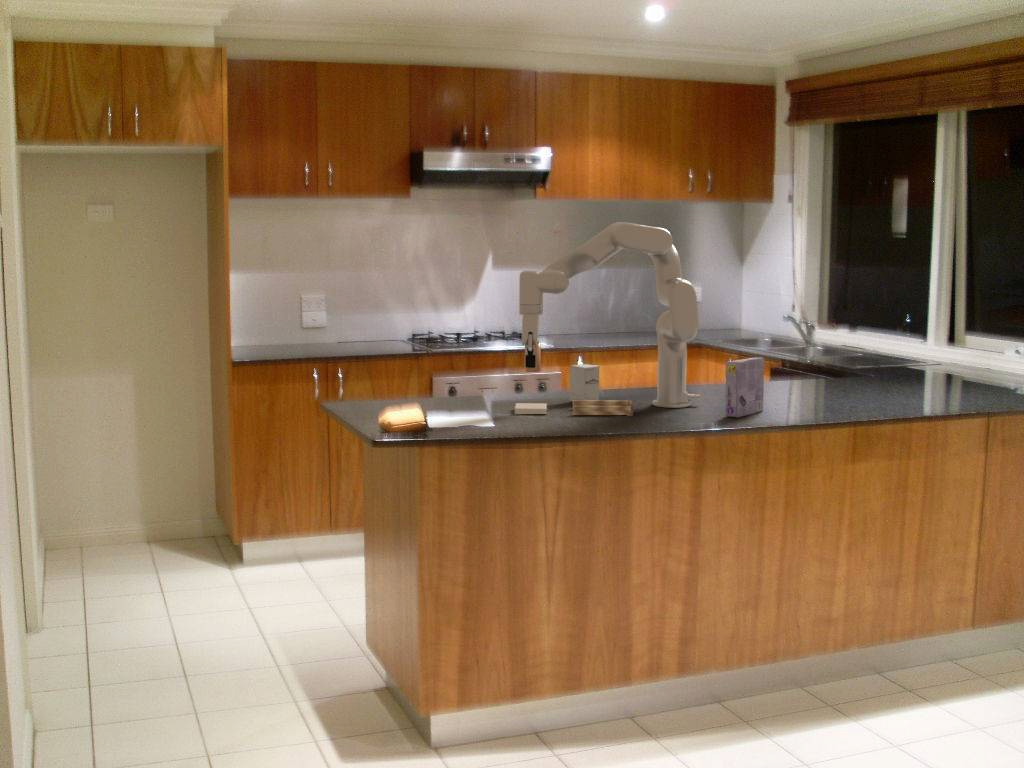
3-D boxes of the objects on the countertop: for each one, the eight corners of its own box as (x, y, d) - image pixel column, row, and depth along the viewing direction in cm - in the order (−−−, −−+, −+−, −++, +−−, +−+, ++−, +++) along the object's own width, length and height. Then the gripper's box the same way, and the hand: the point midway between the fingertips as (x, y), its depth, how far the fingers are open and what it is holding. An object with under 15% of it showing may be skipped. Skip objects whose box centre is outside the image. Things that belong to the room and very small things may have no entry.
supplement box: (583, 404, 368) (584, 367, 366) (568, 402, 373) (569, 365, 371) (599, 402, 372) (600, 365, 370) (584, 399, 378) (584, 363, 376)
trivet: (546, 409, 358) (546, 403, 358) (546, 414, 349) (546, 408, 348) (516, 409, 359) (516, 403, 359) (514, 414, 349) (514, 408, 349)
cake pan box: (751, 409, 359) (753, 355, 357) (765, 410, 356) (767, 356, 354) (723, 417, 345) (724, 361, 342) (737, 419, 342) (739, 362, 339)
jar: (539, 370, 354) (539, 339, 353) (541, 372, 349) (541, 341, 348) (524, 370, 354) (524, 339, 352) (525, 372, 349) (525, 341, 348)
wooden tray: (630, 409, 358) (631, 400, 357) (633, 416, 346) (633, 406, 346) (572, 409, 359) (572, 400, 358) (572, 415, 347) (573, 406, 347)
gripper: (520, 307, 357) (520, 362, 360) (518, 311, 341) (517, 369, 343) (543, 307, 357) (542, 363, 360) (542, 312, 340) (541, 370, 343)
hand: (530, 365), depth 351 cm, fingers closed on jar, 5 cm apart
